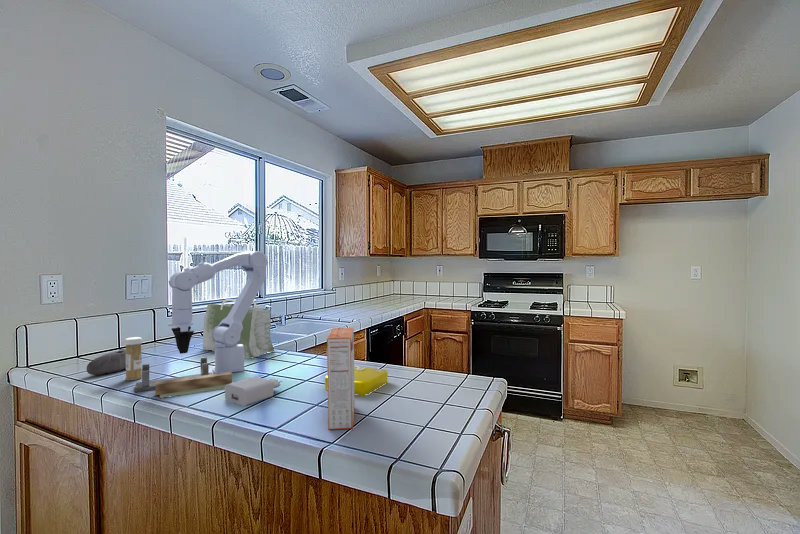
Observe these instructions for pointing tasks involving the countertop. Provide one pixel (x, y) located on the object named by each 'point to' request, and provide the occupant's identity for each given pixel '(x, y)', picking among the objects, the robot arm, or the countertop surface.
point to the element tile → (366, 379)
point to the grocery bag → (253, 331)
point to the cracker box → (340, 378)
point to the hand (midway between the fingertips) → (182, 350)
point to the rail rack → (152, 384)
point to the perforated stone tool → (108, 363)
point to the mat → (193, 391)
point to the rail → (193, 383)
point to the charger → (250, 390)
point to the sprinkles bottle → (133, 358)
